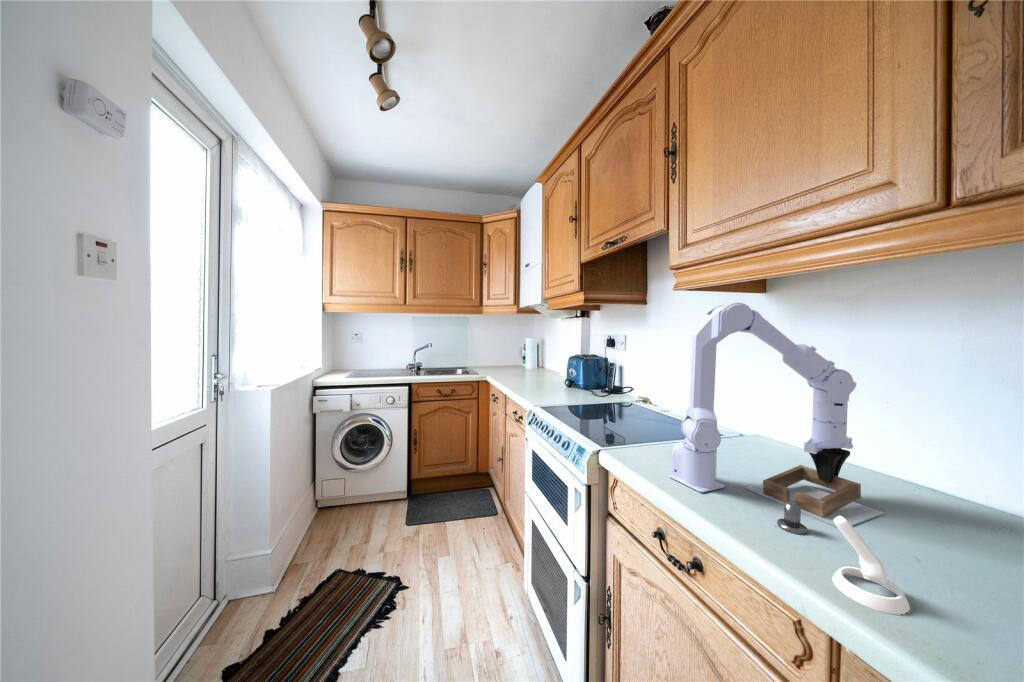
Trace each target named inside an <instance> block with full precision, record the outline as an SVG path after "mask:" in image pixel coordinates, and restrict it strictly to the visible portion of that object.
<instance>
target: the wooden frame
mask: <svg viewBox="0 0 1024 682" xmlns="http://www.w3.org/2000/svg"><path fill="white" fill-rule="evenodd" d="M802 481H806V482H809V483H812V484H815V485H818V486H821V487H824V488H826V489H829V490H832V491H833V492H832V493H831V494H829V495H827V496H825V497H823V498H821V499H816V498H813V497H811V496H808V495H806V494H803V493H800V492H795V503H798V504H799V505H801V509H802V510H805V511H807V512H810V513H812V514H814V515H817V516H819V517H821V518H823V517H825V516H827V515H829V514H831V513H833V512H835V511H836V510H838V509H840V508H842V507H844V506H846V505H848V504H850V503H852V502H856V501H857V500H859V499H861V498H862V491H861V489H862V488H861V487H862V486H861V485H862V484H861V483H859V482H856V481H853V480H850V479H847V478H844V477H840V476H838V477H837V476H834V477H833V481H832V482H831V483H828V482H825V481H822V480H819V477H818V474H817V470H816V468H811V467H808V466H806V465H802V464H799V465H797V466H795V467H792V468H790V469H787V470H785V471H783V472H780V473H778V474H775V475H773V476H771V477H768V478H765V479H763V480H762V483H763V491H764V494H767V495H769V496H772V497H774V498H776V499H779V500H781V501H783V502H785V501H790V498H789V488H787V487H788V486H790V485H792V484H795V483H797V482H802Z"/></svg>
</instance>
